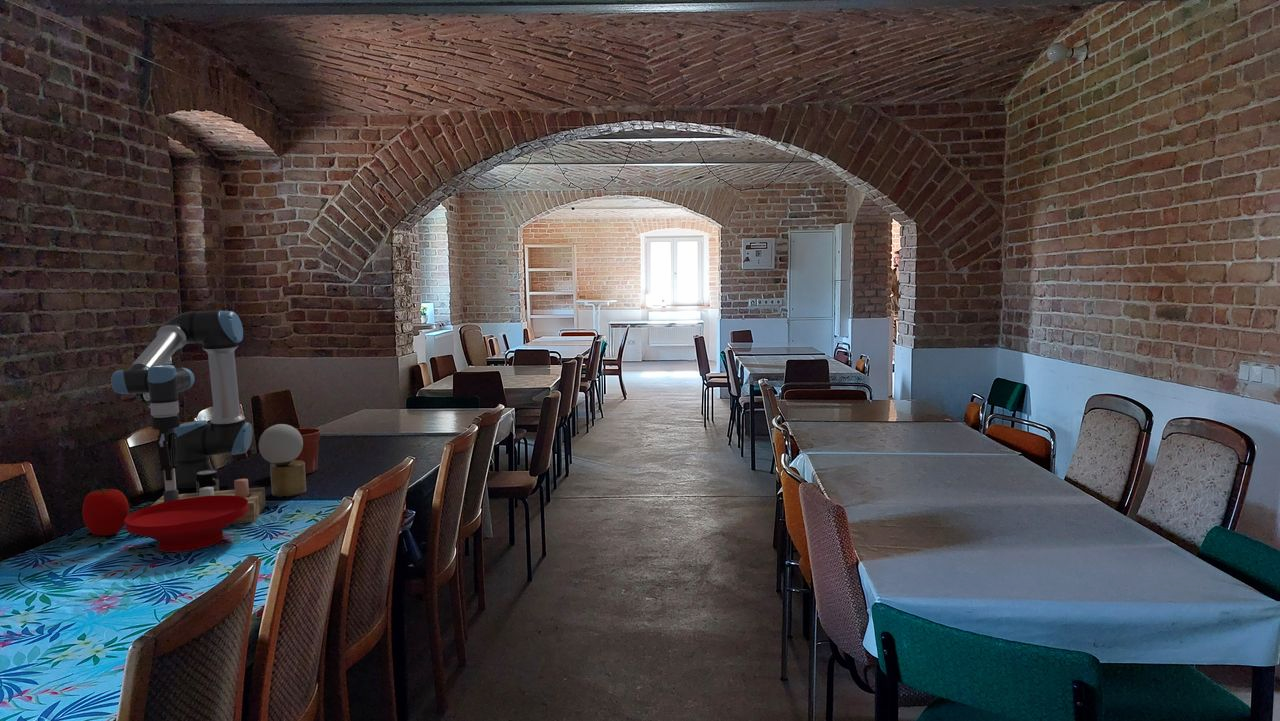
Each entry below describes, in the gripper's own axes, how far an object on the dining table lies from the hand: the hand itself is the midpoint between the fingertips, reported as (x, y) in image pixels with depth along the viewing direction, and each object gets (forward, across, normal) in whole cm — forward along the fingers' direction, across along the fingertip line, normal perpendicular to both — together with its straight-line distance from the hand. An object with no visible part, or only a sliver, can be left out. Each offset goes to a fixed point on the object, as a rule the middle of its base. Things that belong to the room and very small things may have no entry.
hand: (170, 489), depth 241 cm
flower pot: (+11, -57, +30) cm, 66 cm away
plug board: (+10, 0, +10) cm, 14 cm away
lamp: (+10, -23, +29) cm, 38 cm away
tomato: (+10, +8, -15) cm, 20 cm away
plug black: (+10, 0, 0) cm, 10 cm away
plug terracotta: (+8, 0, +20) cm, 21 cm away
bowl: (+10, +26, +11) cm, 30 cm away
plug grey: (+10, 0, +10) cm, 14 cm away
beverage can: (+10, -13, +7) cm, 18 cm away
